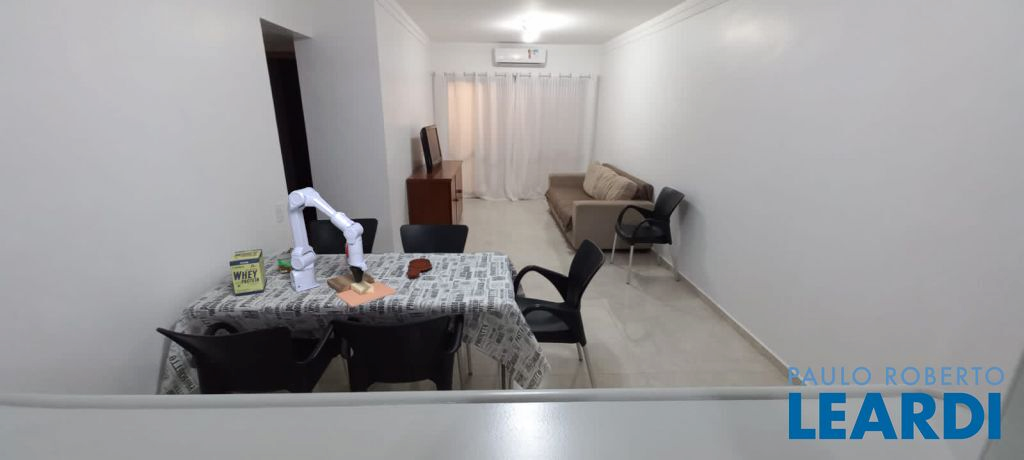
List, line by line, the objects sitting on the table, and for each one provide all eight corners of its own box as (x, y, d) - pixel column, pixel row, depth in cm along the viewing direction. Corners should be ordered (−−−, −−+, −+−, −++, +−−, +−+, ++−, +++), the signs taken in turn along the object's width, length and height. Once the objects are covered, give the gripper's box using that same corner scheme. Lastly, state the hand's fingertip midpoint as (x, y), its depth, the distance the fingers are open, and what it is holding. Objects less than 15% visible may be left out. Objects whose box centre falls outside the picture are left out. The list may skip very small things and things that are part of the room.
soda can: (352, 267, 207) (349, 244, 204) (344, 264, 211) (341, 241, 208) (364, 263, 212) (362, 240, 209) (356, 260, 217) (354, 238, 213)
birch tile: (360, 295, 173) (360, 290, 172) (351, 289, 179) (350, 284, 178) (373, 291, 177) (373, 286, 176) (364, 285, 183) (363, 280, 182)
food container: (291, 275, 196) (288, 255, 194) (279, 275, 196) (275, 255, 194) (304, 266, 208) (302, 247, 206) (292, 266, 208) (290, 247, 206)
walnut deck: (339, 293, 176) (338, 287, 175) (327, 284, 185) (326, 279, 184) (374, 283, 187) (374, 277, 186) (361, 275, 196) (361, 270, 195)
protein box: (235, 297, 172) (228, 262, 168) (240, 284, 186) (234, 251, 182) (264, 292, 177) (258, 258, 172) (267, 280, 190) (262, 248, 186)
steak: (434, 266, 209) (434, 258, 208) (424, 281, 189) (423, 272, 188) (412, 265, 209) (411, 257, 208) (399, 280, 190) (398, 271, 189)
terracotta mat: (352, 306, 163) (351, 306, 163) (335, 295, 174) (335, 294, 174) (397, 292, 177) (397, 291, 177) (379, 282, 188) (379, 281, 188)
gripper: (372, 253, 173) (375, 283, 177) (357, 246, 183) (360, 274, 187) (356, 257, 169) (359, 288, 172) (341, 249, 178) (344, 279, 182)
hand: (358, 281), depth 179 cm, fingers closed
